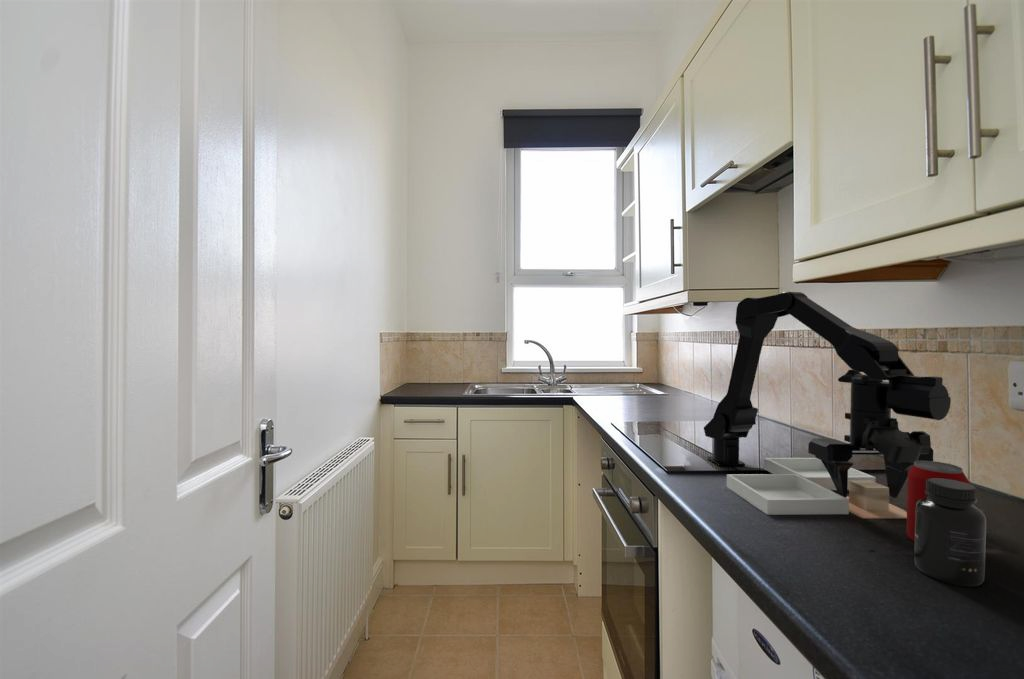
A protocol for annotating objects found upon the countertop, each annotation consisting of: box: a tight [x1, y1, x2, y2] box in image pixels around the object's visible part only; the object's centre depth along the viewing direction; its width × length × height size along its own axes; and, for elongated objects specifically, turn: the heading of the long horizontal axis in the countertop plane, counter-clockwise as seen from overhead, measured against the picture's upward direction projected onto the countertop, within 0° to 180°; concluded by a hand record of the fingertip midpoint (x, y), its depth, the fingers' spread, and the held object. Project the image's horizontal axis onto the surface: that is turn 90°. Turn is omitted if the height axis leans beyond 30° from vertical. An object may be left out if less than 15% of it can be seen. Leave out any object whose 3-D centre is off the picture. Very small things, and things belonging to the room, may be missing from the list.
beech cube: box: [848, 481, 890, 511], centre depth 84 cm, size 4×4×4 cm
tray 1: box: [726, 473, 850, 516], centre depth 88 cm, size 14×14×3 cm
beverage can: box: [906, 460, 970, 543], centre depth 70 cm, size 7×7×12 cm
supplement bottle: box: [913, 478, 987, 587], centre depth 62 cm, size 7×7×12 cm
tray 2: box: [763, 457, 876, 491], centre depth 100 cm, size 14×14×3 cm
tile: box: [846, 496, 907, 520], centre depth 84 cm, size 10×10×1 cm
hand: (868, 497), depth 84 cm, fingers open, 9 cm apart
